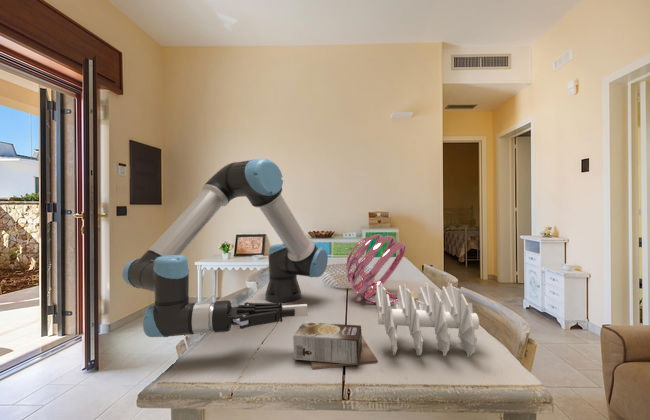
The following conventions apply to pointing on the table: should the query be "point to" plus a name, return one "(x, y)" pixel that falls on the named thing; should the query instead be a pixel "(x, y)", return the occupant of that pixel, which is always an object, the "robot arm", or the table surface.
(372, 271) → the spiral basket
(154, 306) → the robot arm
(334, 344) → the coffee box
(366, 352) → the walnut board
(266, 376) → the table surface
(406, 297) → the spiral staircase
